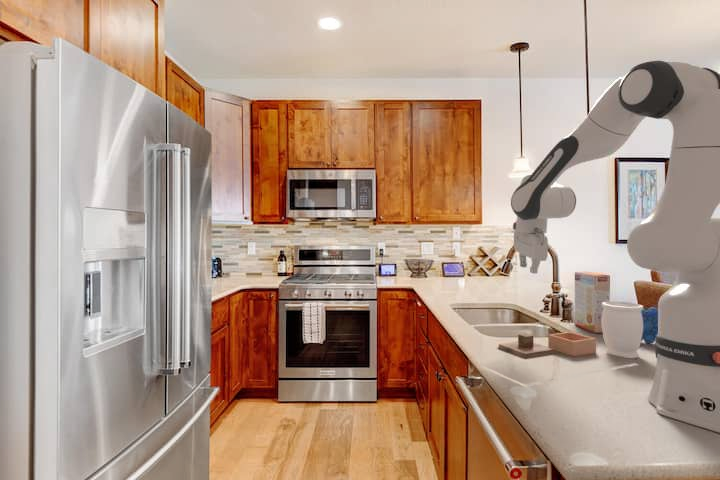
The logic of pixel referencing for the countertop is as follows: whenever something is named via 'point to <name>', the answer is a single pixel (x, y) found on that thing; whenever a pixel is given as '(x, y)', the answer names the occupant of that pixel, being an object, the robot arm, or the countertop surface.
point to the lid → (526, 347)
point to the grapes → (650, 324)
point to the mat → (526, 358)
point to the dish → (572, 344)
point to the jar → (622, 328)
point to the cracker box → (590, 299)
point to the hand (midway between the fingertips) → (528, 269)
